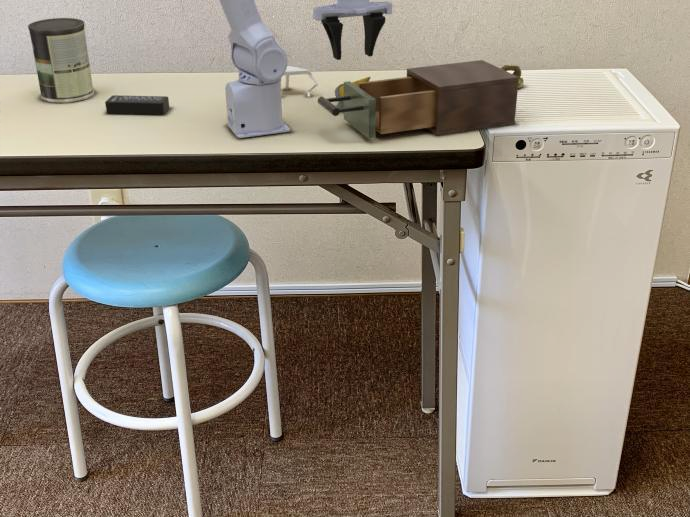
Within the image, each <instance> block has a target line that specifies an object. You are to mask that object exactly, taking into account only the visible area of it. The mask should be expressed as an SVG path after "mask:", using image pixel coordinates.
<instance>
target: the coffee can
mask: <svg viewBox="0 0 690 517" xmlns="http://www.w3.org/2000/svg"><path fill="white" fill-rule="evenodd" d="M85 25H86V24H85V21H84V20H82V19H79V18H74V17H73V18H72V17H56V18H55V17H53V18H46V19H45V18H44V19H40V20H37V21H33V22H31V23H29V24H28V25H27V29H28V32H29V36H30V41H31V47H32V54H33V58H34V64H35V69H36V75H37V79H38V86H39V90H40V98H41V99H42V100H43V101H44V102H48V103H55V104H66V103H68V104H69V103H75V102H80V101H84V100H87V99H89V98H91V97H92V96H94V94H95V90H94V84H93V77H92V71H91V64H90V57H89V52H88V44H87V37H86V31H85Z"/></svg>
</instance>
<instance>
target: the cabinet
mask: <svg viewBox="0 0 690 517" xmlns="http://www.w3.org/2000/svg"><path fill="white" fill-rule="evenodd" d="M410 76H413V77H415V78H416V79H418V80H420V81H422V82H423V83H425V84H427V85H429V86H430V87H432V88H434V89H436V90H437V100H436V121H435V127H429V128H425V129H426V130H428V131H429V132H430V133H432V134H434V136H437V137H438V136H444V135H451V134H457V133H465V132H472V131H479V130H485V129H492V128H493V129H494V128H500V127H507V126H514V125H516V114H517V113H516V112H517V101H518V93H519V92H518V91H519V88H518V81H519V77H517V76H515V75H513V73H511V72H509V71H508V70H507V71H505V70H502V69H501V68H500V67H498V66H496V65H494V64H492V63H489V62H487V61H485V60H483V59H482V60H481V59H479V60H471V61H463V62H461V61H460V62H453V63H445V64H435V65H426V66H418V67H410V68H409V67H408V68H406V77H410Z"/></svg>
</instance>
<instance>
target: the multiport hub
mask: <svg viewBox="0 0 690 517" xmlns="http://www.w3.org/2000/svg"><path fill="white" fill-rule="evenodd" d="M104 104H105V111H106V114H107V115H126V116H127V115H131V116H132V115H133V116H134V115H135V116H164V115H166V114H167V112H168V111H169V110H170V100H169V96H166V95H165V96H164V95H162V96H161V95H121V94H120V95H118V94H117V95H116V94H115V95H111V96H110V97H109V98H108V99H106V101H104Z"/></svg>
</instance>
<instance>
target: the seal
mask: <svg viewBox="0 0 690 517" xmlns="http://www.w3.org/2000/svg"><path fill="white" fill-rule="evenodd" d="M500 69H502V70H505V71H507V72H508V71H513V72H512V74H513V75H515V76H517V77H519V81H518V89H520V88H523V87H524V78H523V77H522V69H521V66H519V65H510V64H504V65H503V66H501V68H500Z"/></svg>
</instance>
